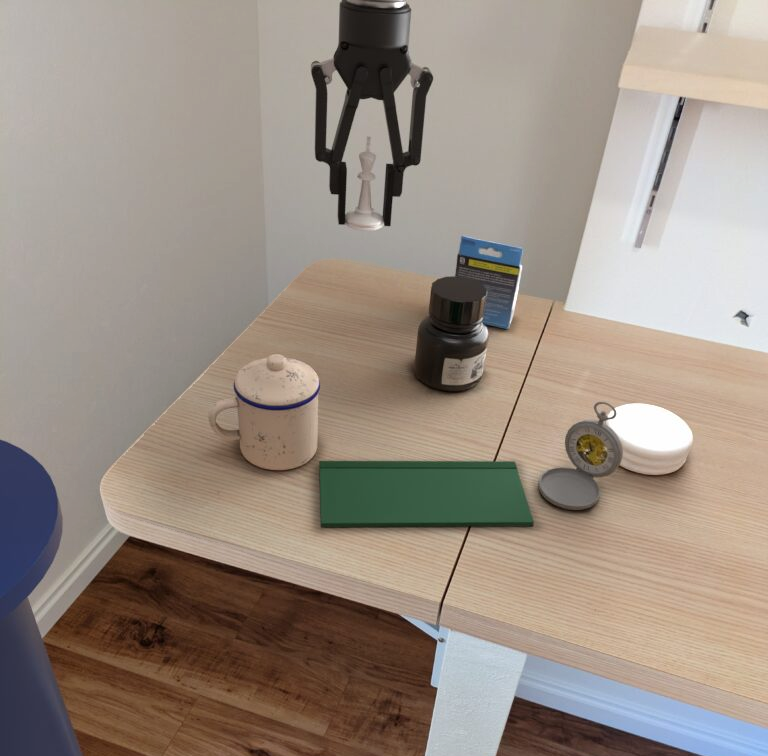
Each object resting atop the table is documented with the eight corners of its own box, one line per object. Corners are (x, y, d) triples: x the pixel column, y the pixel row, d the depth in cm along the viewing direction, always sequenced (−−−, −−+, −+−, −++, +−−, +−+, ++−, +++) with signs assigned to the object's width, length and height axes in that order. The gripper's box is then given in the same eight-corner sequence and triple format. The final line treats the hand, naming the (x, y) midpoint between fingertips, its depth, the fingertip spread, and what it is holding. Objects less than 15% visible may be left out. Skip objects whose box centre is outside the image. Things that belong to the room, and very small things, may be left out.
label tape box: (513, 318, 116) (529, 236, 108) (508, 331, 113) (524, 248, 105) (455, 306, 118) (466, 225, 110) (448, 319, 115) (459, 236, 107)
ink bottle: (455, 403, 99) (468, 315, 91) (398, 376, 103) (406, 290, 95) (495, 372, 105) (511, 287, 97) (440, 348, 109) (451, 264, 101)
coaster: (583, 431, 96) (590, 407, 94) (653, 420, 99) (662, 396, 97) (628, 483, 89) (637, 458, 87) (702, 469, 92) (712, 445, 90)
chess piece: (342, 229, 96) (346, 142, 90) (344, 213, 100) (348, 128, 93) (383, 232, 97) (389, 145, 90) (384, 216, 100) (390, 132, 94)
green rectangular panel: (320, 527, 81) (320, 522, 80) (319, 465, 88) (319, 460, 88) (533, 526, 83) (534, 521, 82) (514, 466, 90) (515, 461, 90)
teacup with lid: (307, 419, 94) (307, 331, 86) (329, 465, 88) (331, 375, 80) (205, 434, 91) (195, 344, 83) (221, 484, 85) (212, 391, 77)
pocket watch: (537, 508, 85) (557, 432, 78) (537, 460, 91) (555, 386, 85) (614, 519, 84) (641, 443, 78) (609, 470, 91) (633, 396, 84)
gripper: (455, -2, 87) (431, 211, 102) (288, -13, 84) (290, 206, 100) (466, 12, 81) (439, 235, 96) (289, 1, 79) (290, 231, 94)
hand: (363, 220), depth 98 cm, fingers closed on chess piece, 5 cm apart
